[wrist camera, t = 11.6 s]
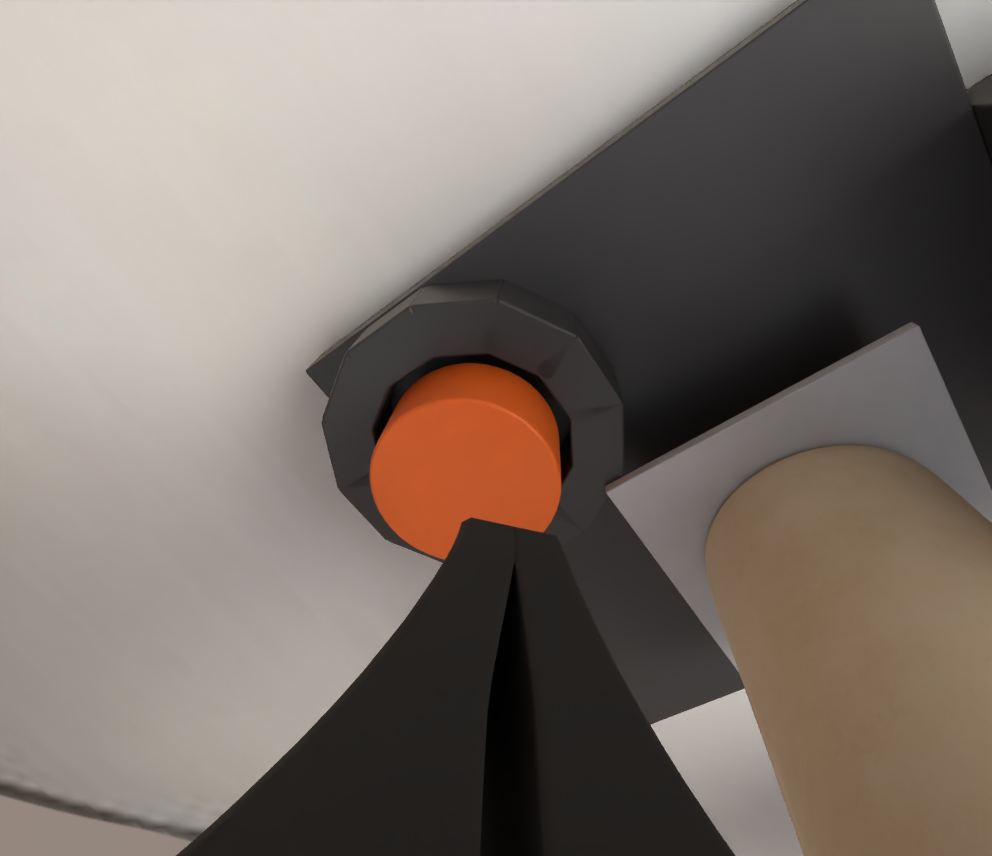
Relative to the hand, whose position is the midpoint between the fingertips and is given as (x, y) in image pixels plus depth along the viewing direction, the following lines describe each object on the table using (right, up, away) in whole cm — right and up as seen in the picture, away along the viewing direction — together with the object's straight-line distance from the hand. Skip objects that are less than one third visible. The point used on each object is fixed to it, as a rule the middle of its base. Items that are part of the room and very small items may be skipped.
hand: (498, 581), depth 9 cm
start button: (-1, +2, +6) cm, 6 cm away
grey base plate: (+6, +2, +8) cm, 10 cm away
